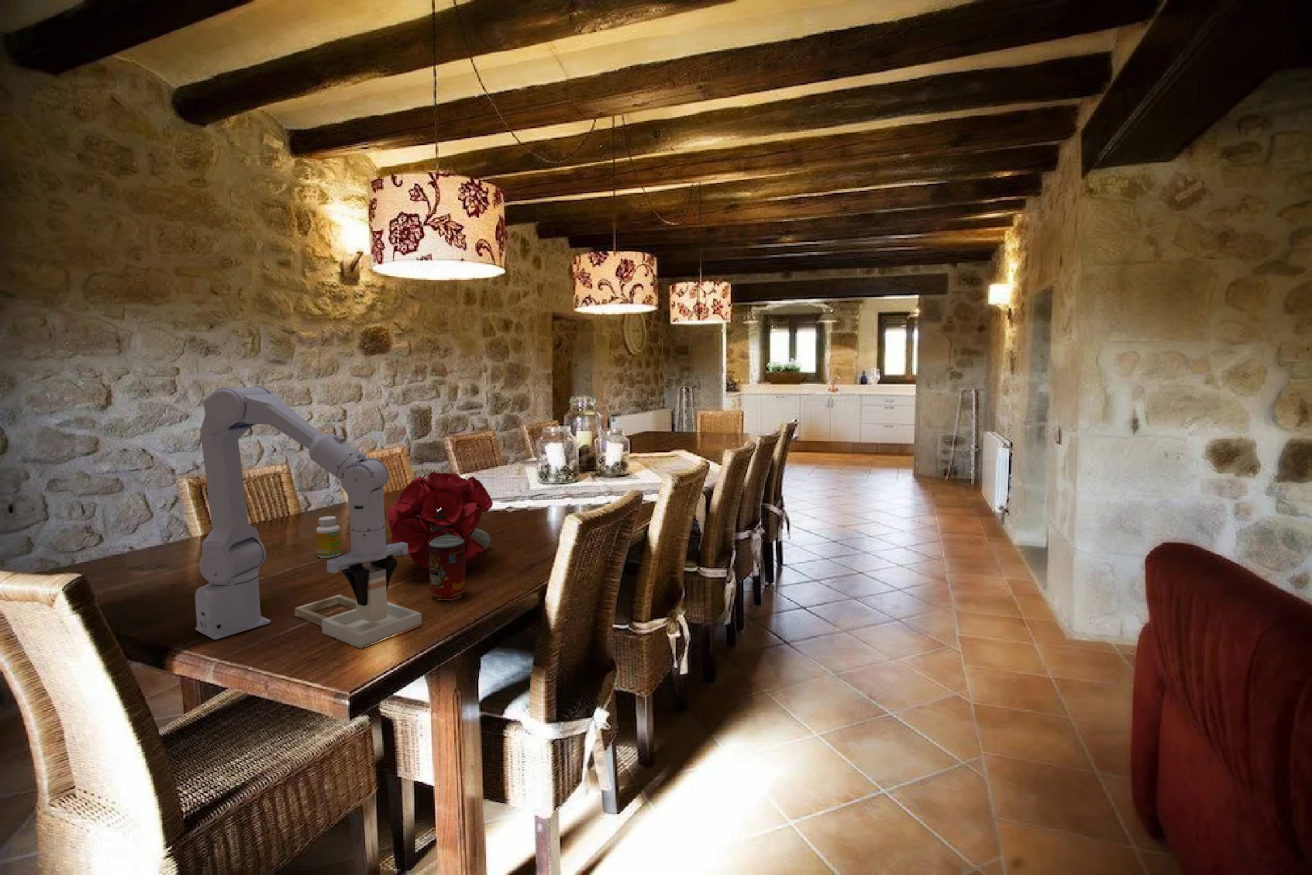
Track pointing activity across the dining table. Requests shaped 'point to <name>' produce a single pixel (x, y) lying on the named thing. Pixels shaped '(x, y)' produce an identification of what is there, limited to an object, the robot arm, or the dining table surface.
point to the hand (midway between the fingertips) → (371, 601)
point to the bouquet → (440, 514)
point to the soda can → (447, 567)
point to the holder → (310, 615)
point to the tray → (370, 625)
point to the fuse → (374, 596)
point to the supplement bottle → (328, 537)
